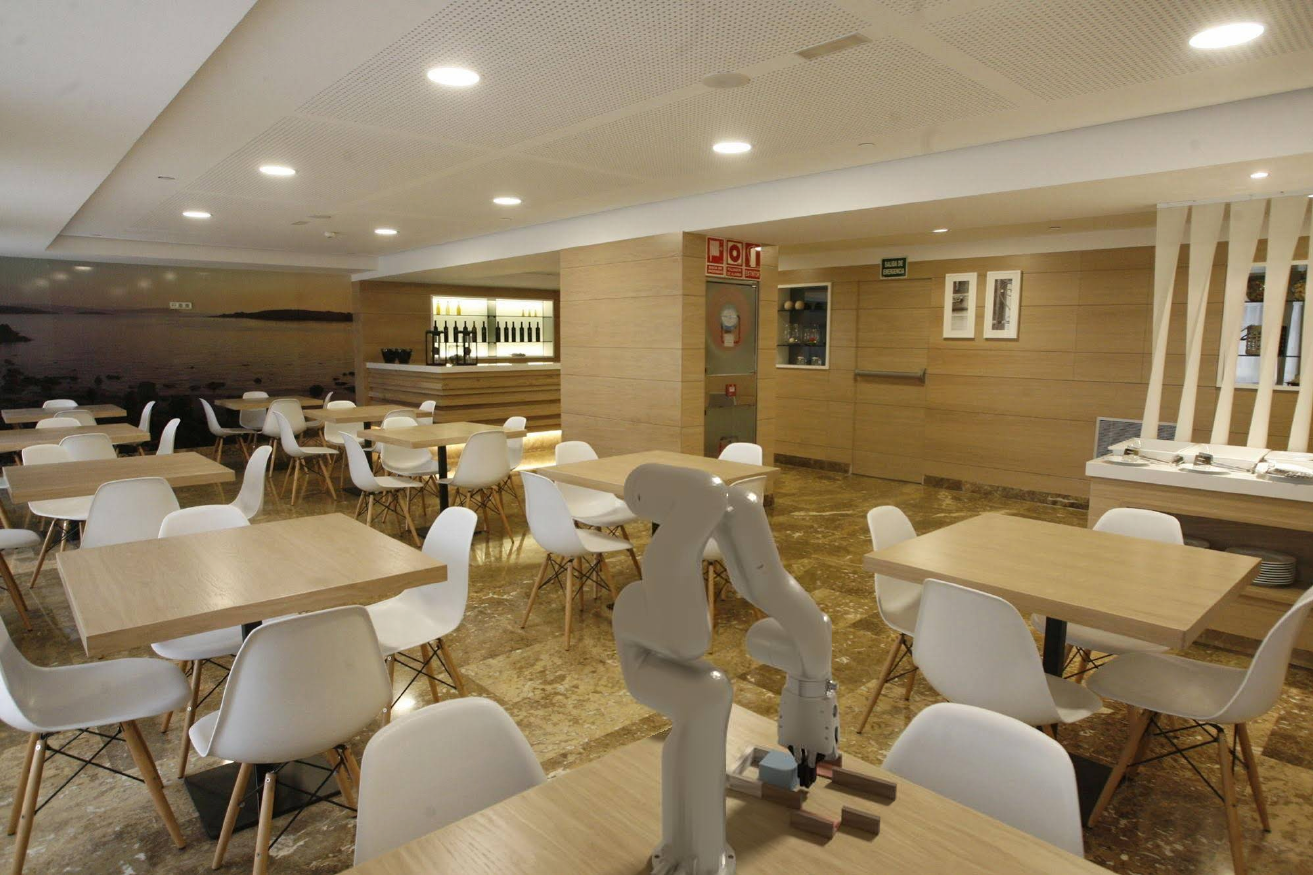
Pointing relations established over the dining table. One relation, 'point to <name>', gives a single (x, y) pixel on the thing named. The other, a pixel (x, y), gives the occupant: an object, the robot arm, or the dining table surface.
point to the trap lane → (794, 799)
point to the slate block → (779, 770)
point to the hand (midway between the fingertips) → (806, 783)
